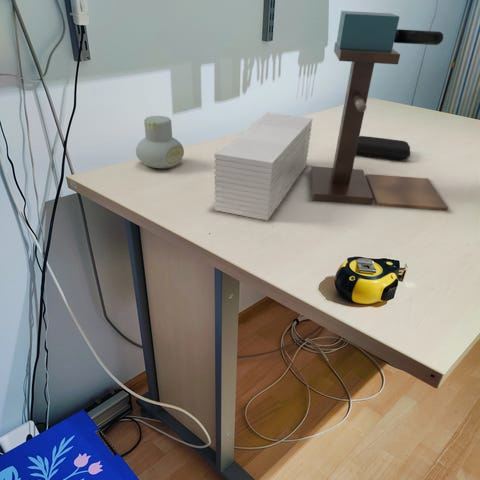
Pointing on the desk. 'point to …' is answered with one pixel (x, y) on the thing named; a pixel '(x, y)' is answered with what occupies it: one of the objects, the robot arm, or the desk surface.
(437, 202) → the cork mat
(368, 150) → the carrying case
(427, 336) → the desk surface
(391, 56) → the holder stand
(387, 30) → the stamp
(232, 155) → the stack of papers
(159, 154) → the air freshener
